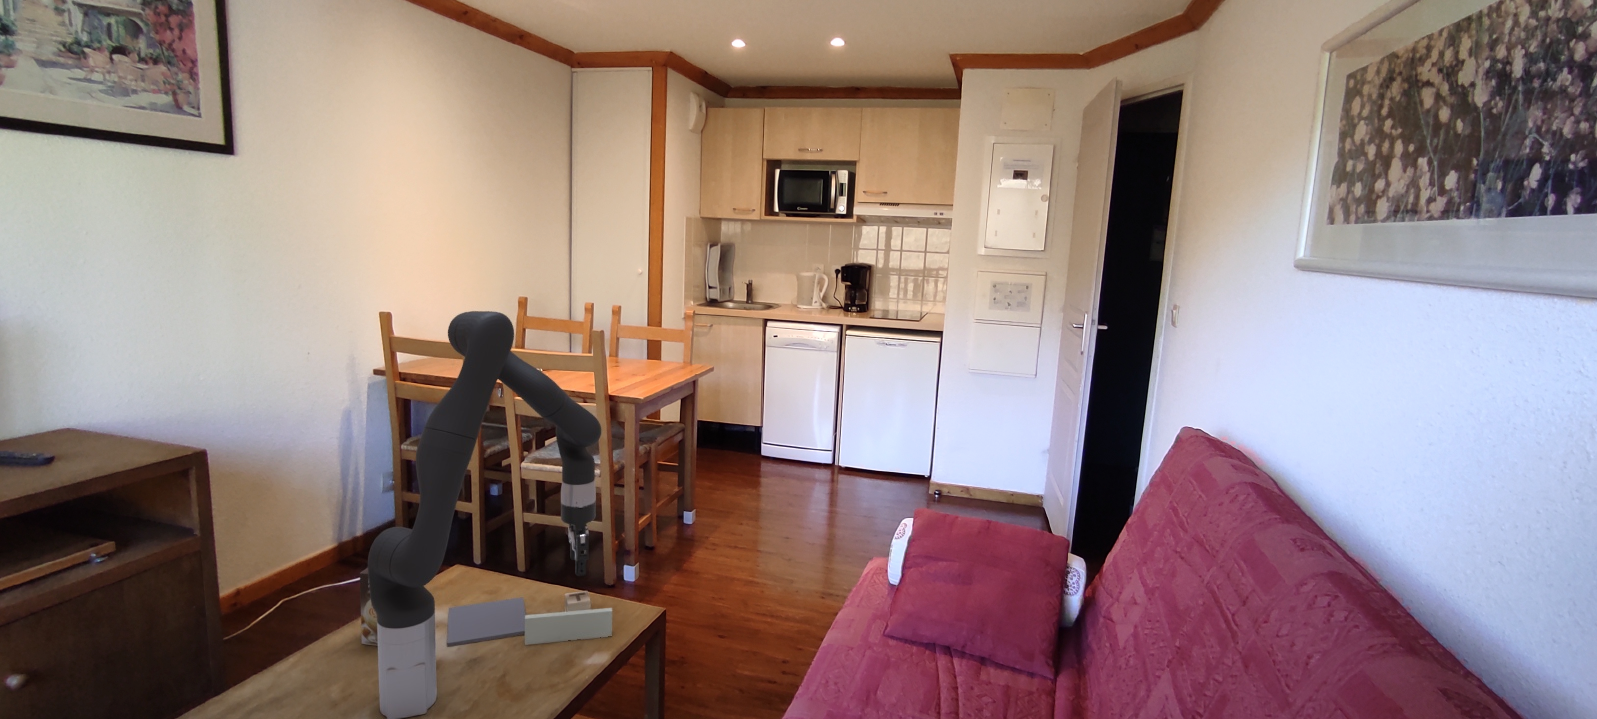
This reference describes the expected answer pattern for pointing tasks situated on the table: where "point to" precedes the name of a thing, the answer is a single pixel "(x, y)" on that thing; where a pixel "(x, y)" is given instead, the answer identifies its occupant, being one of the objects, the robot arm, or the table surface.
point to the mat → (486, 621)
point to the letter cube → (577, 601)
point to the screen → (568, 626)
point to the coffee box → (367, 612)
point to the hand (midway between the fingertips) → (578, 566)
